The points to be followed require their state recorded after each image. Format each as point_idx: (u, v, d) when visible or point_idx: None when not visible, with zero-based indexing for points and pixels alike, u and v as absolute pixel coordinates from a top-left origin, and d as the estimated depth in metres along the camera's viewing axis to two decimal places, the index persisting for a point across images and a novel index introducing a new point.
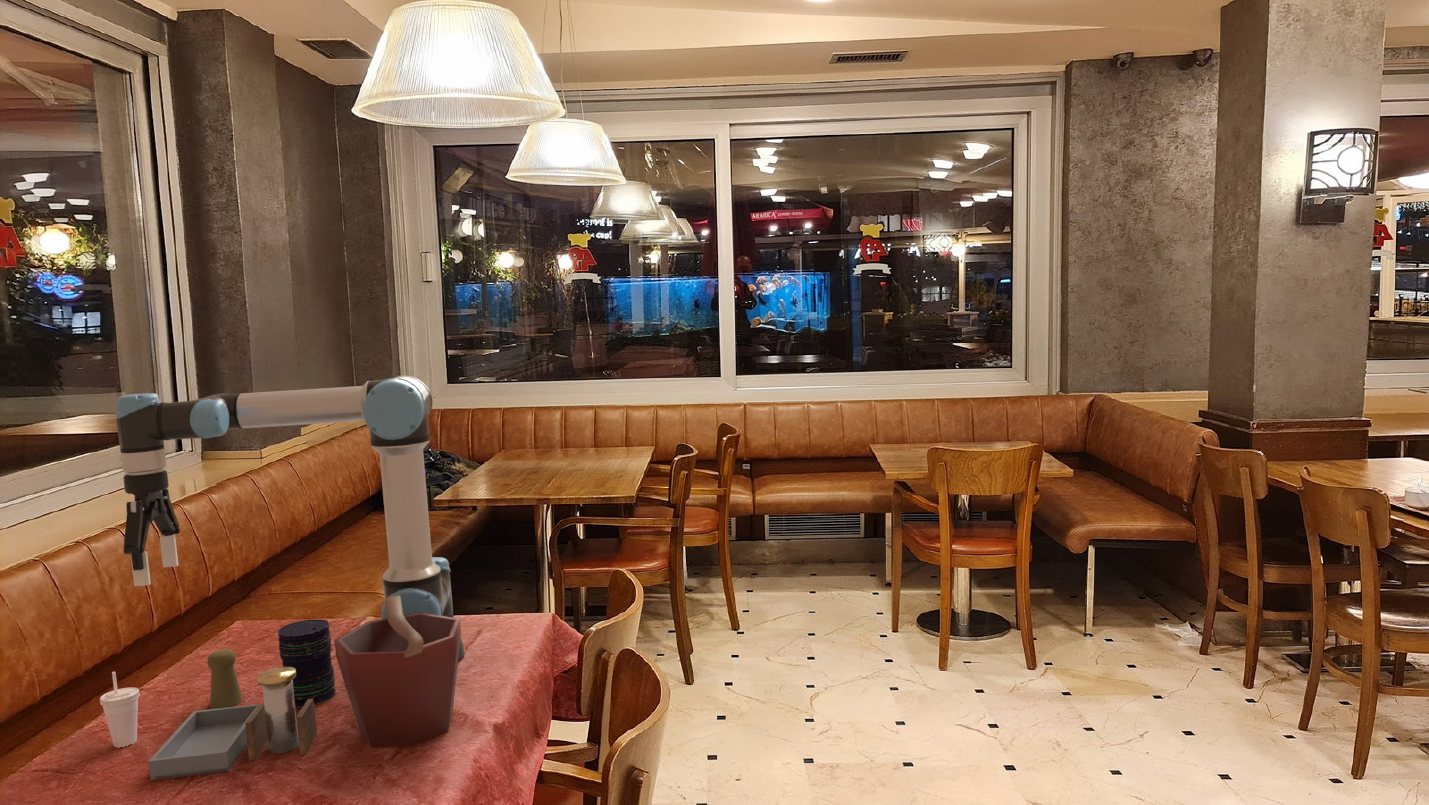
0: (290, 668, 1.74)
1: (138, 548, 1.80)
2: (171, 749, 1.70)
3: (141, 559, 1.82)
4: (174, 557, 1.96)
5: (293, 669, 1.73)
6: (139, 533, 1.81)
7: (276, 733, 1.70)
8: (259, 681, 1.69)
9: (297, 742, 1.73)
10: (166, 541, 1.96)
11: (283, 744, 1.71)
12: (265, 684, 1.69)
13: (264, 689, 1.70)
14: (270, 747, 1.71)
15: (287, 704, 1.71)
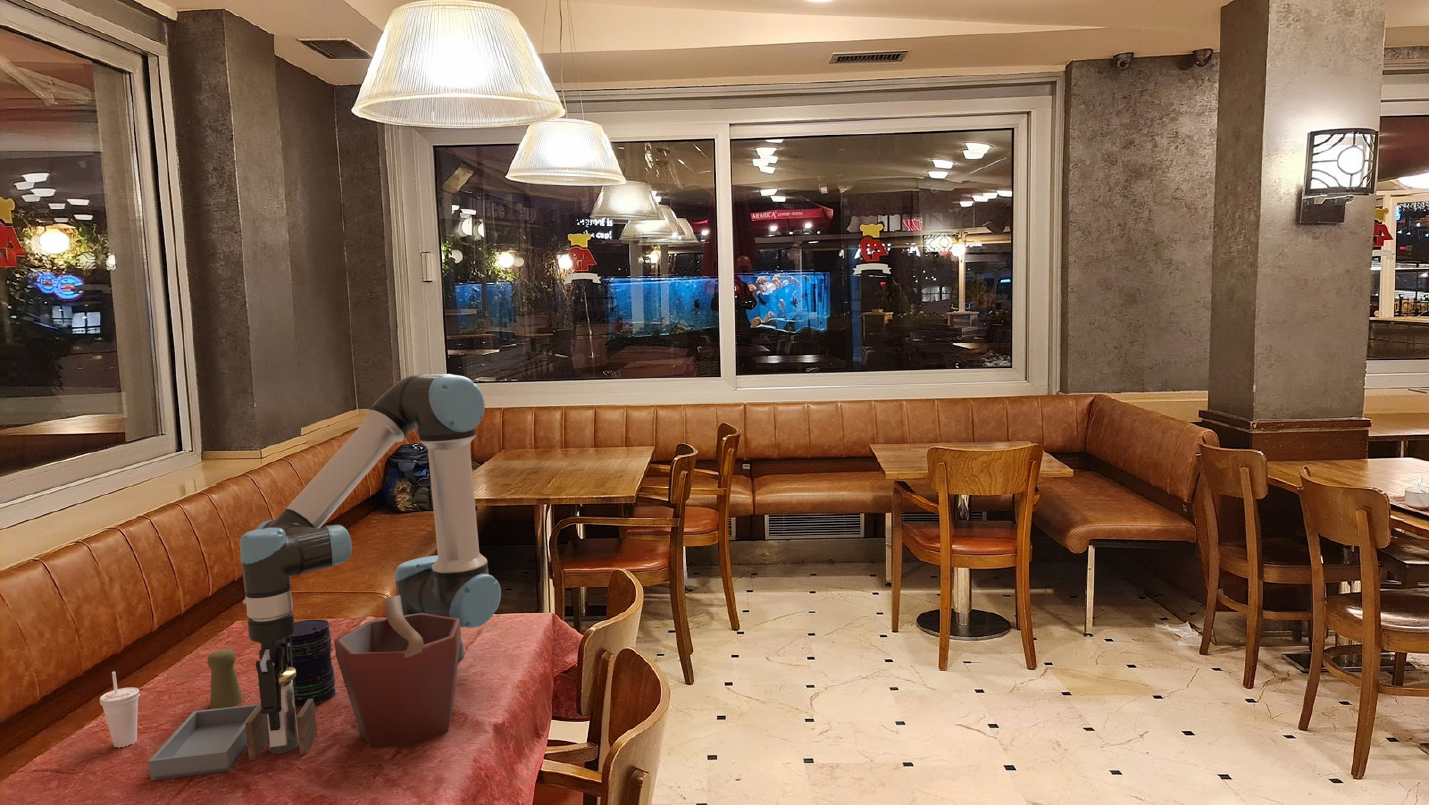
0: (290, 668, 1.74)
1: (277, 709, 1.67)
2: (171, 749, 1.70)
3: (278, 718, 1.69)
4: None
5: (293, 669, 1.73)
6: (275, 693, 1.66)
7: None
8: None
9: (297, 742, 1.73)
10: None
11: None
12: None
13: None
14: (270, 747, 1.71)
15: (287, 704, 1.71)
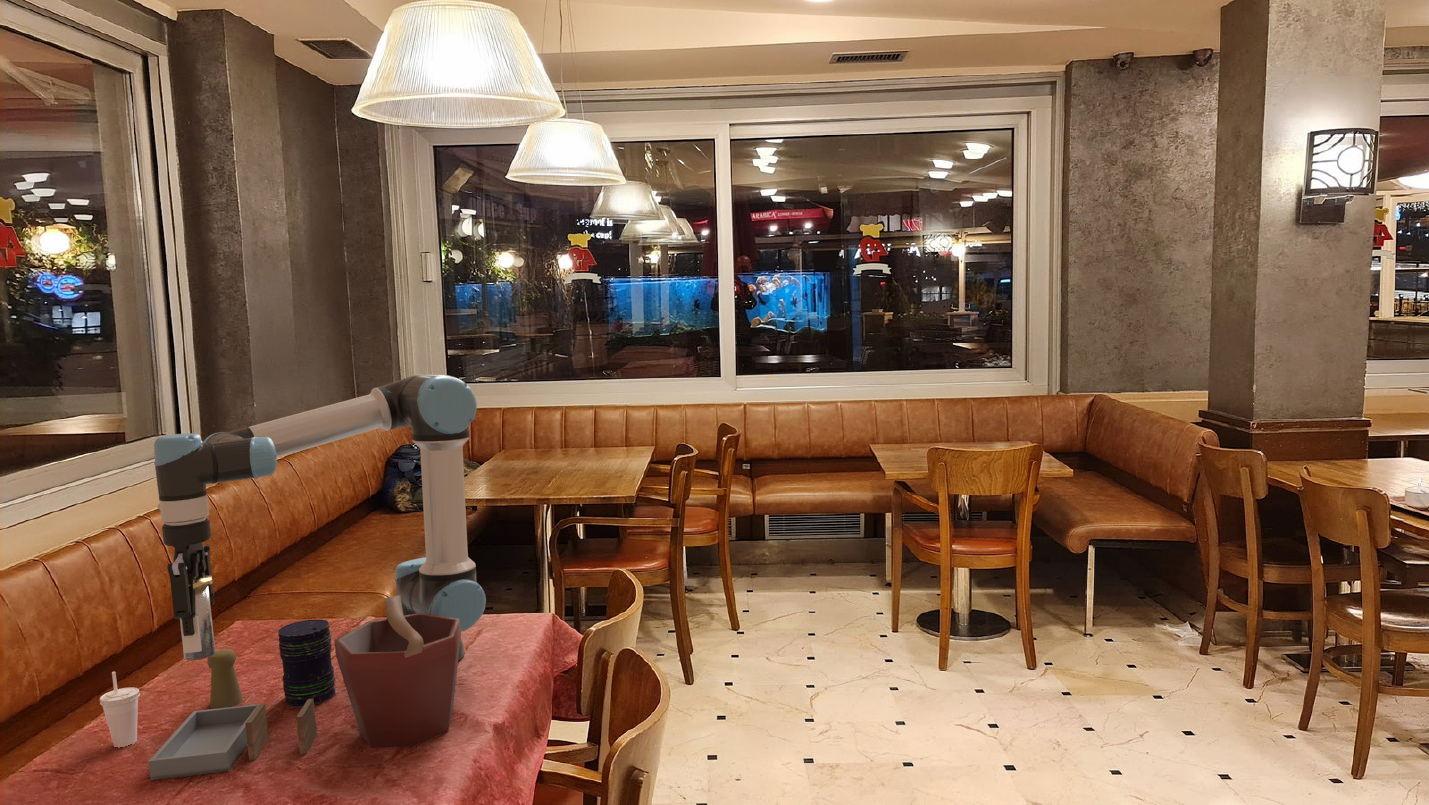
0: (207, 576, 1.73)
1: (189, 613, 1.65)
2: (171, 749, 1.70)
3: (192, 623, 1.67)
4: None
5: (209, 576, 1.72)
6: (187, 597, 1.65)
7: None
8: None
9: (213, 650, 1.72)
10: None
11: None
12: None
13: None
14: (185, 654, 1.70)
15: (201, 610, 1.70)
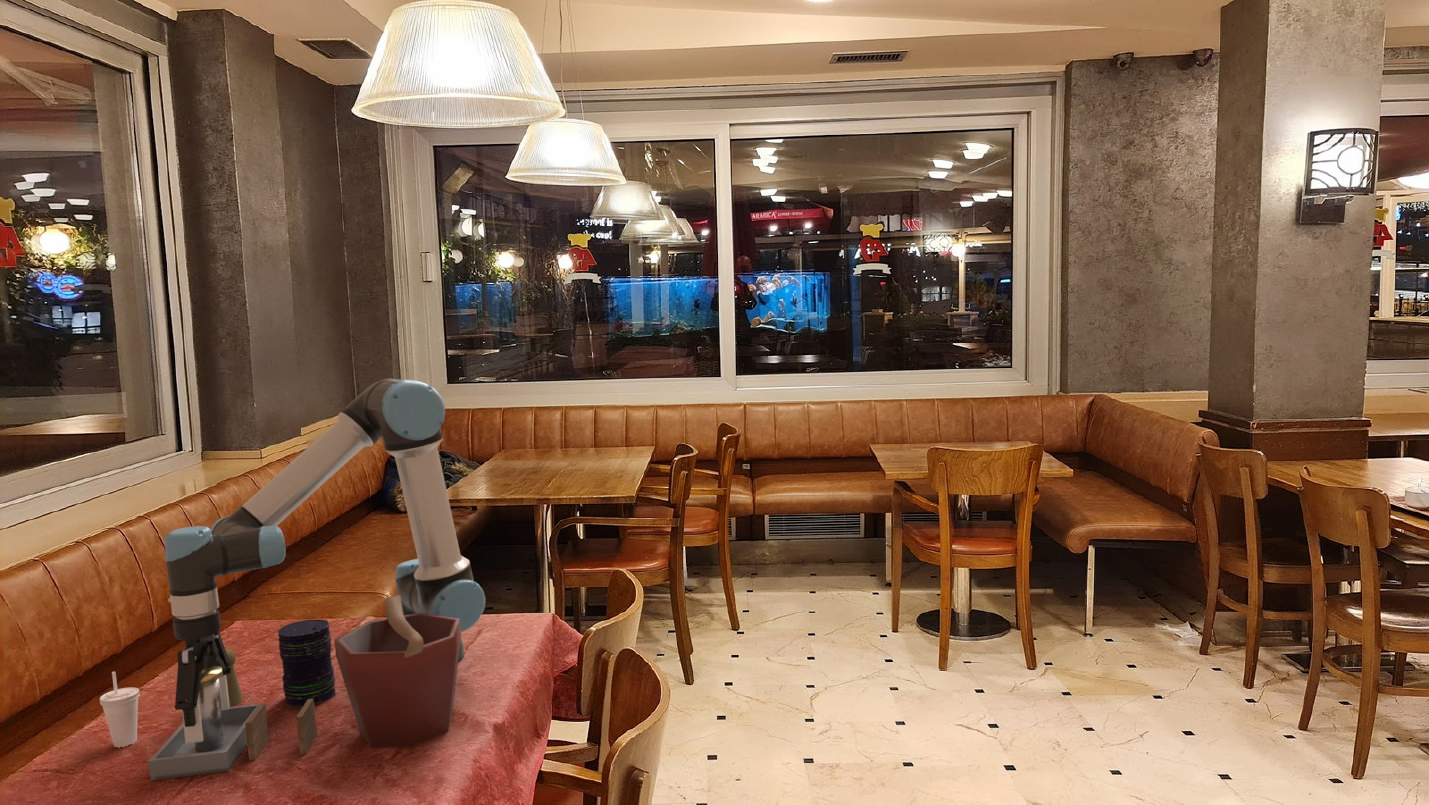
0: (217, 667, 1.74)
1: (191, 704, 1.63)
2: (171, 749, 1.70)
3: (193, 714, 1.65)
4: (225, 700, 1.80)
5: (219, 668, 1.74)
6: (192, 687, 1.64)
7: None
8: None
9: (223, 741, 1.74)
10: None
11: (209, 742, 1.71)
12: None
13: None
14: (196, 746, 1.72)
15: (212, 703, 1.71)
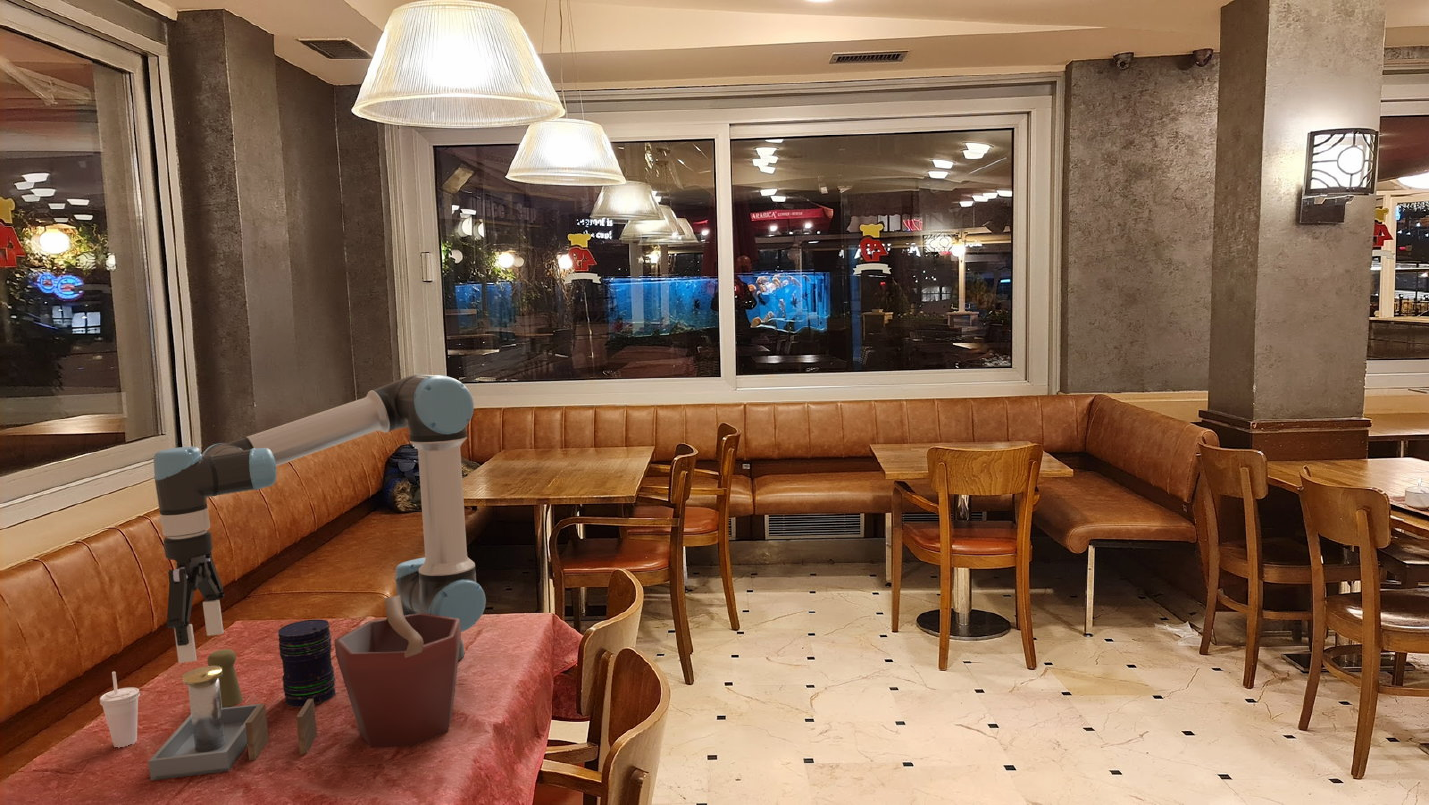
0: (217, 667, 1.74)
1: (183, 622, 1.62)
2: (171, 749, 1.70)
3: (185, 633, 1.64)
4: (219, 624, 1.78)
5: (219, 668, 1.74)
6: (183, 605, 1.63)
7: (201, 732, 1.71)
8: (184, 680, 1.70)
9: (223, 741, 1.74)
10: (210, 607, 1.78)
11: (209, 742, 1.71)
12: (190, 683, 1.69)
13: (189, 688, 1.71)
14: (196, 746, 1.72)
15: (212, 703, 1.71)
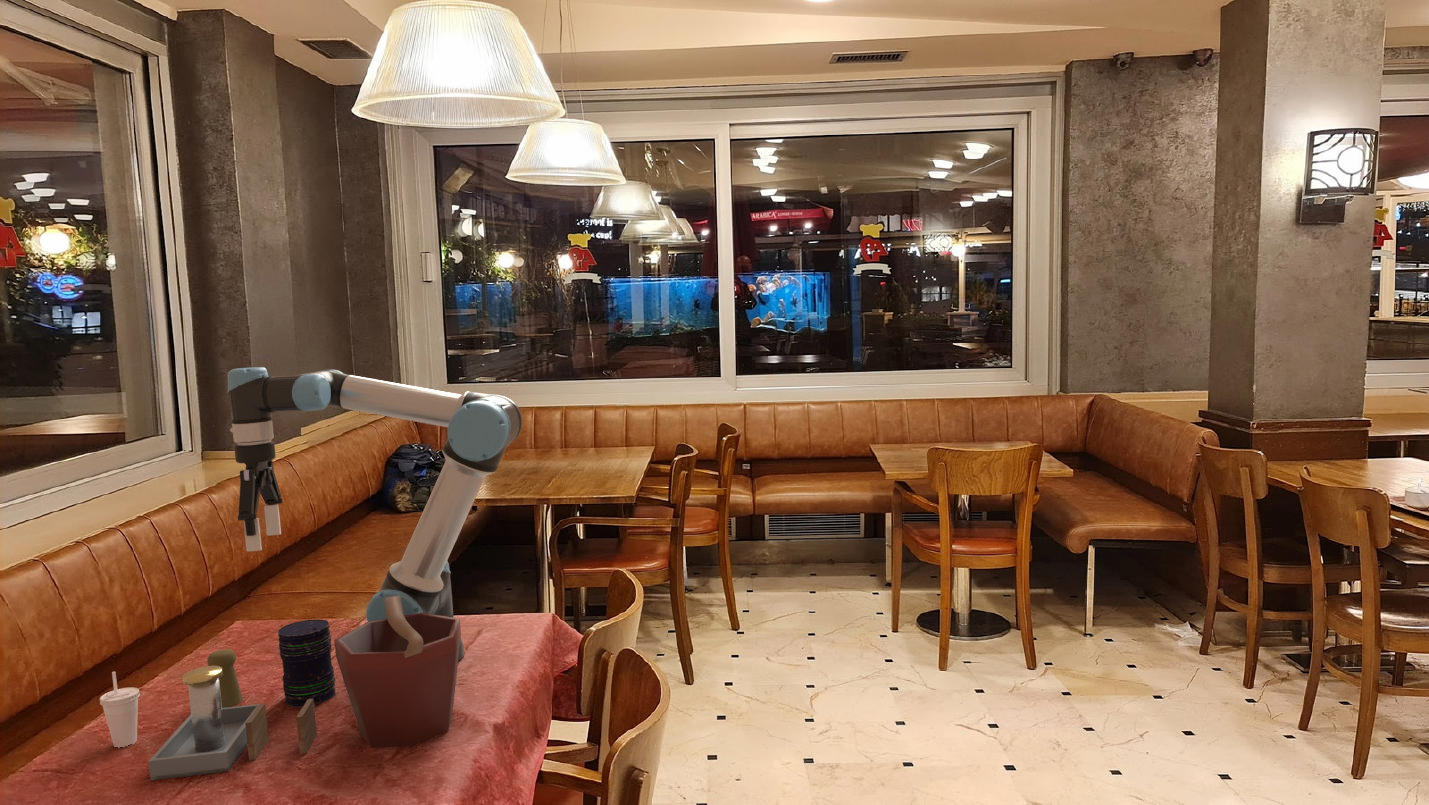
0: (217, 667, 1.74)
1: (252, 514, 1.88)
2: (171, 749, 1.70)
3: (253, 525, 1.90)
4: (277, 526, 2.04)
5: (219, 668, 1.74)
6: (252, 500, 1.89)
7: (201, 732, 1.71)
8: (184, 680, 1.70)
9: (223, 741, 1.74)
10: (270, 510, 2.03)
11: (209, 742, 1.71)
12: (190, 683, 1.69)
13: (189, 688, 1.71)
14: (196, 746, 1.72)
15: (212, 703, 1.71)
